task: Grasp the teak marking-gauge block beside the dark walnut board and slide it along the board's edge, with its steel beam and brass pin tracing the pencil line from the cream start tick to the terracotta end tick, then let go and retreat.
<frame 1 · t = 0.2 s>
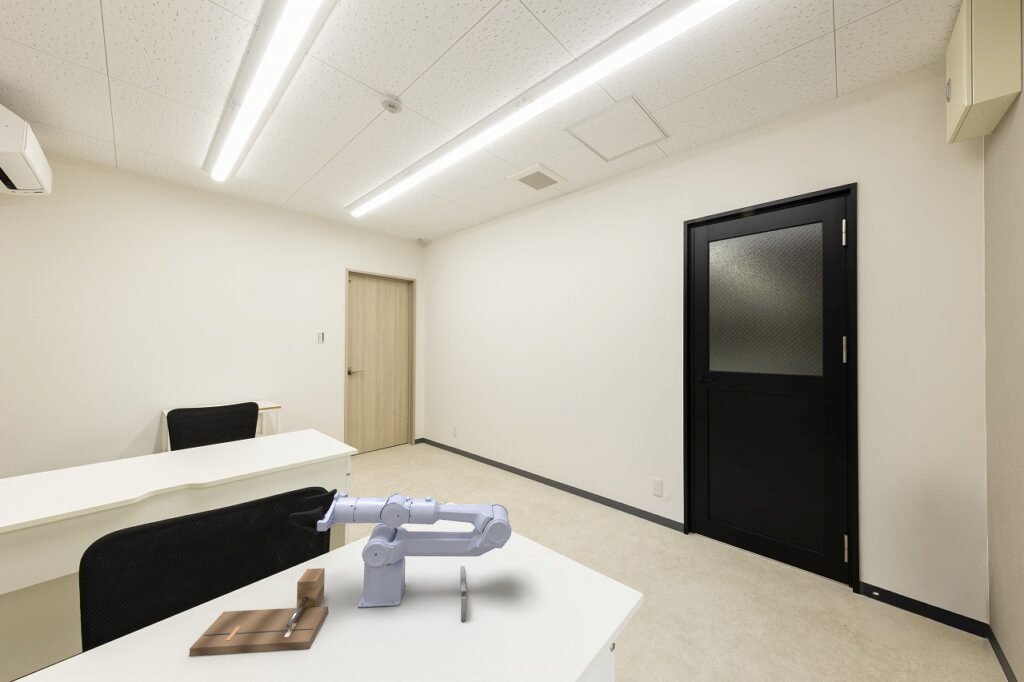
hand: (297, 510, 89), 21 cm above the table, tool horizontal, fingers open, 7 cm apart
walnut board: (264, 632, 78), on the table
caliper: (462, 593, 93), on the table
marking gauge: (310, 605, 87), on the table
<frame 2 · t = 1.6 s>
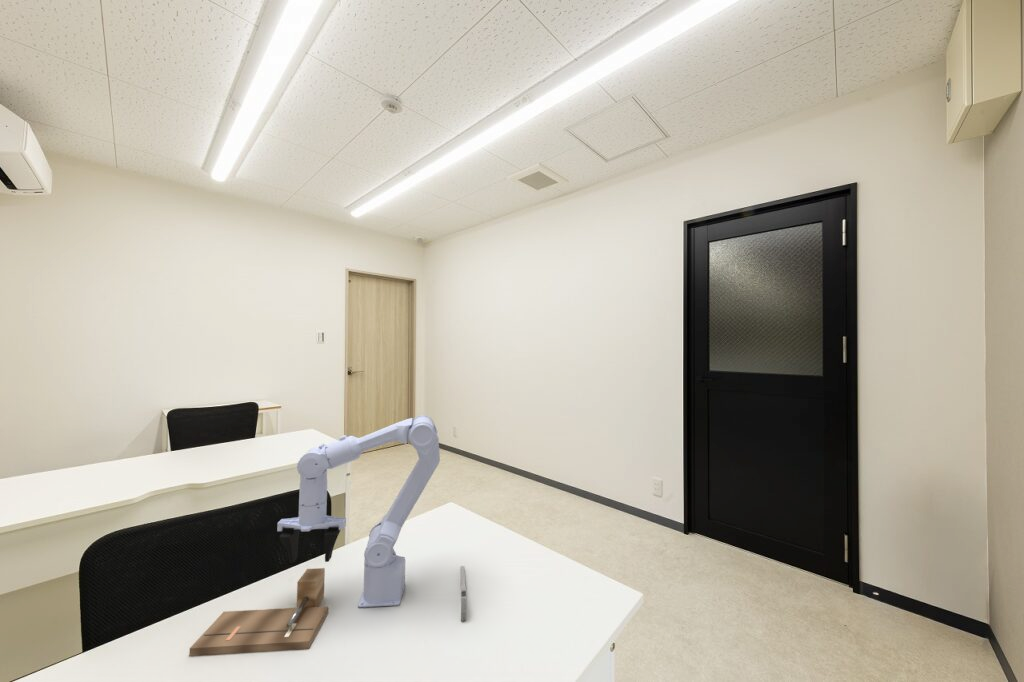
hand: (311, 560, 87), 10 cm above the table, tool pointing down, fingers open, 7 cm apart
nothing on the table moved.
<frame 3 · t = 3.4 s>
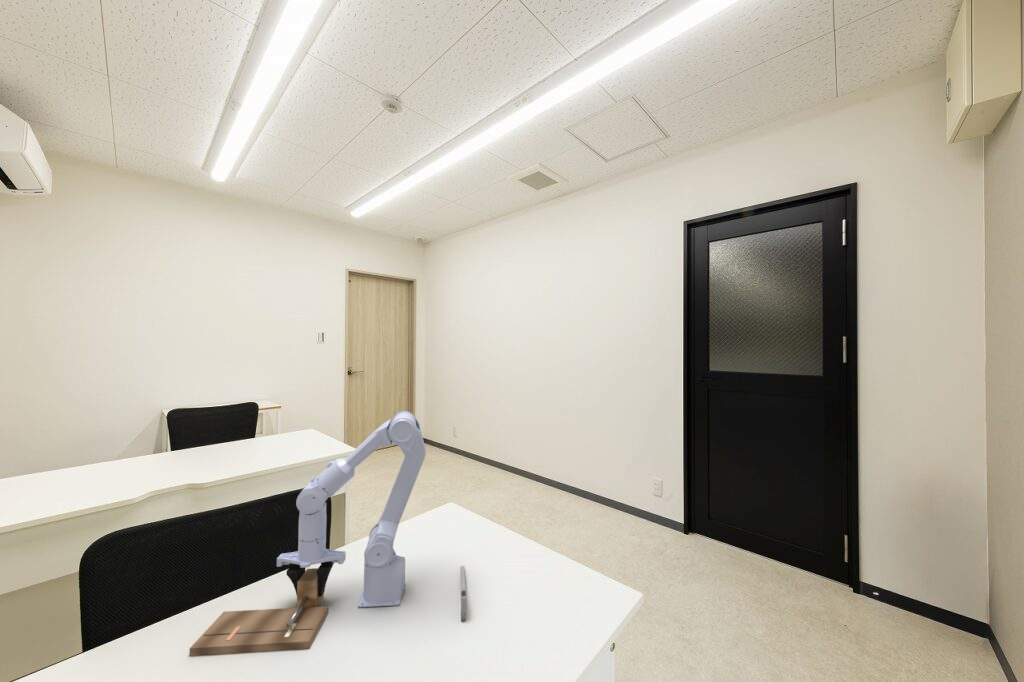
hand: (310, 594, 87), 2 cm above the table, tool pointing down, fingers closed on marking gauge, 4 cm apart
marking gauge: (310, 605, 87), on the table, touching gripper
everything else where it was.
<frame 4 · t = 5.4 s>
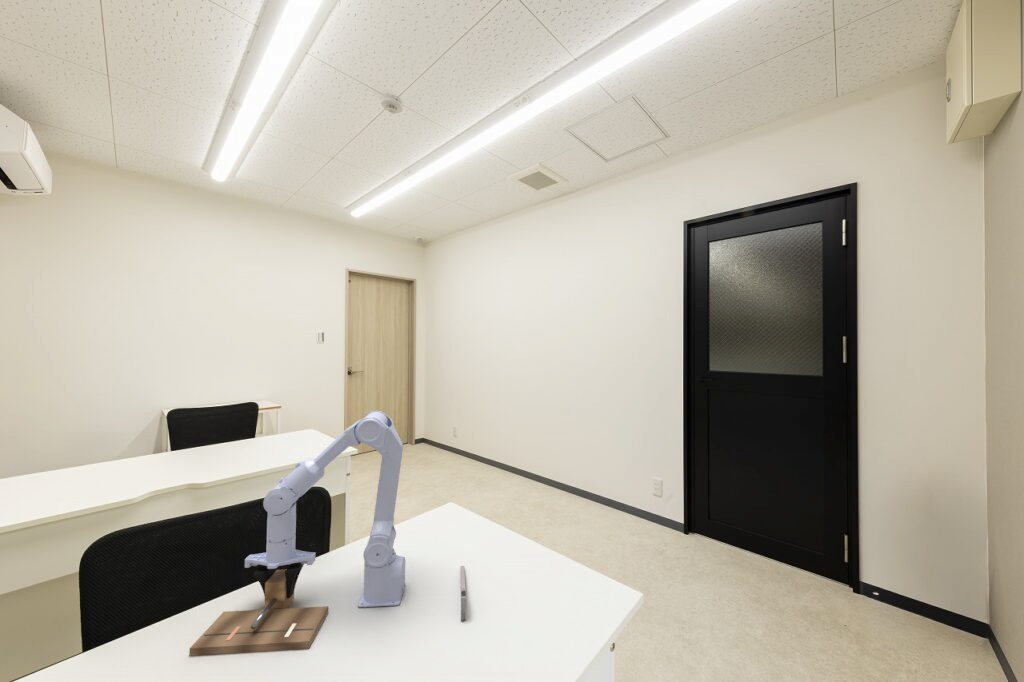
hand: (279, 595, 86), 2 cm above the table, tool pointing down, fingers closed on marking gauge, 4 cm apart
marking gauge: (279, 606, 86), on the table, touching gripper
everything else where it was.
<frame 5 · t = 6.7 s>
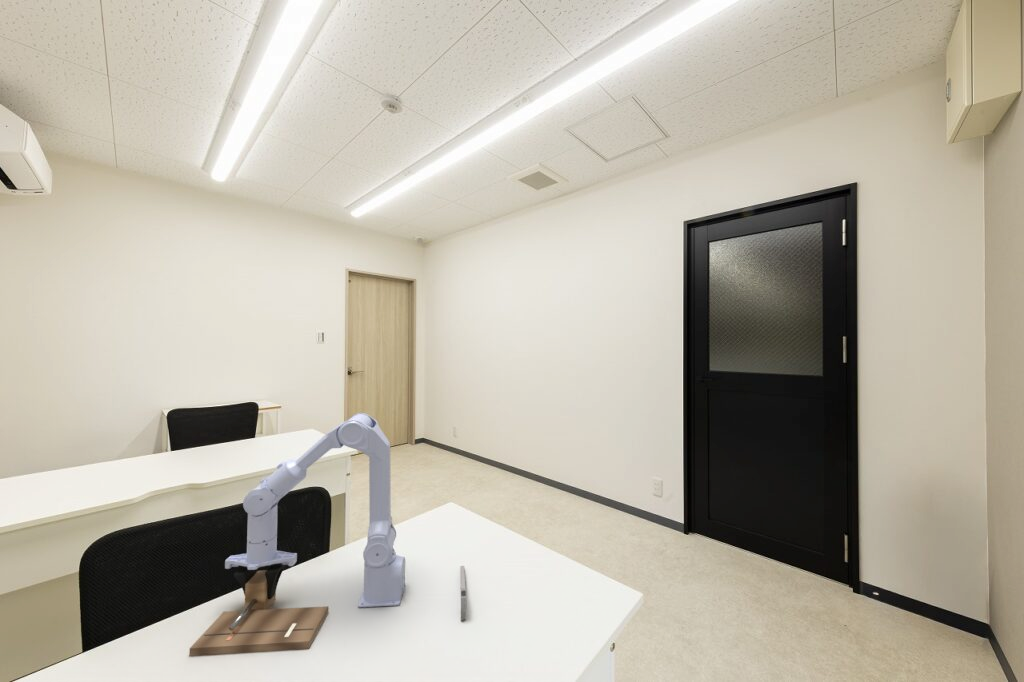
hand: (260, 596, 86), 2 cm above the table, tool pointing down, fingers closed on marking gauge, 4 cm apart
marking gauge: (260, 607, 86), on the table, touching gripper
everything else where it was.
when the fingers open (2 cm above the table, at t = 7.6 s): marking gauge stays where it is, on the table.
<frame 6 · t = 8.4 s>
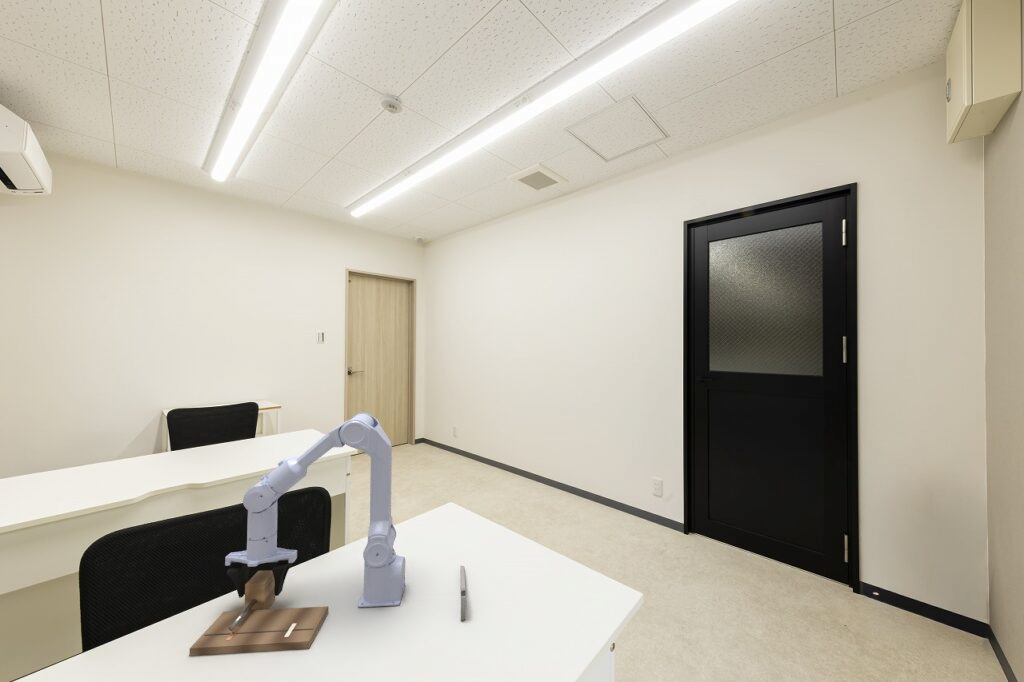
hand: (260, 593, 86), 3 cm above the table, tool pointing down, fingers open, 7 cm apart
marking gauge: (260, 607, 86), on the table
everything else where it was.
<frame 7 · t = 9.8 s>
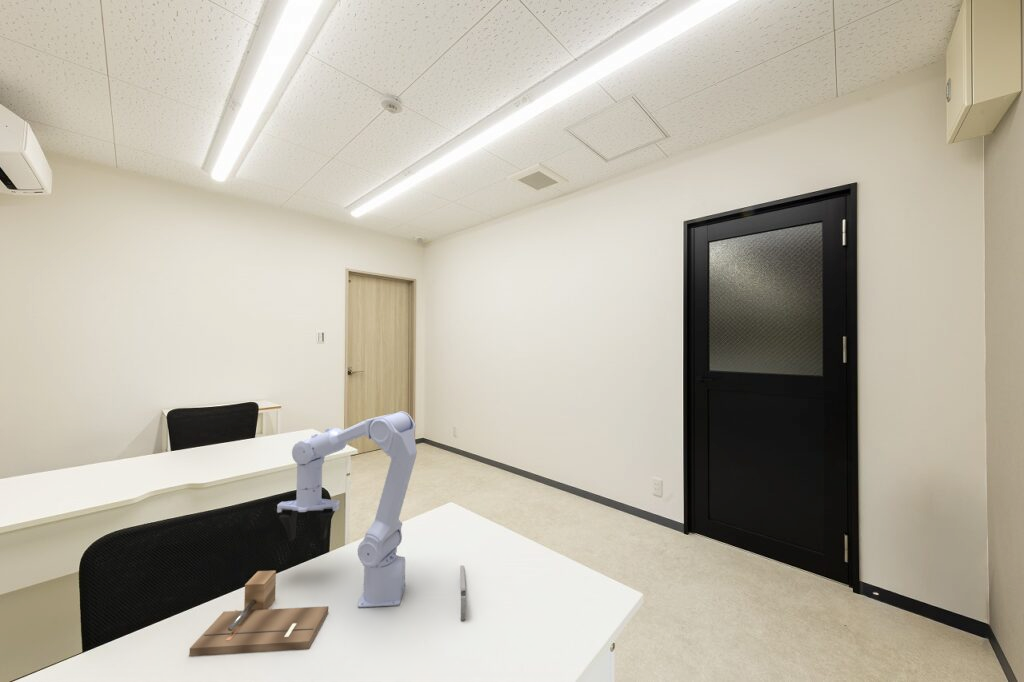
hand: (308, 538, 97), 10 cm above the table, tool pointing down, fingers open, 7 cm apart
nothing on the table moved.
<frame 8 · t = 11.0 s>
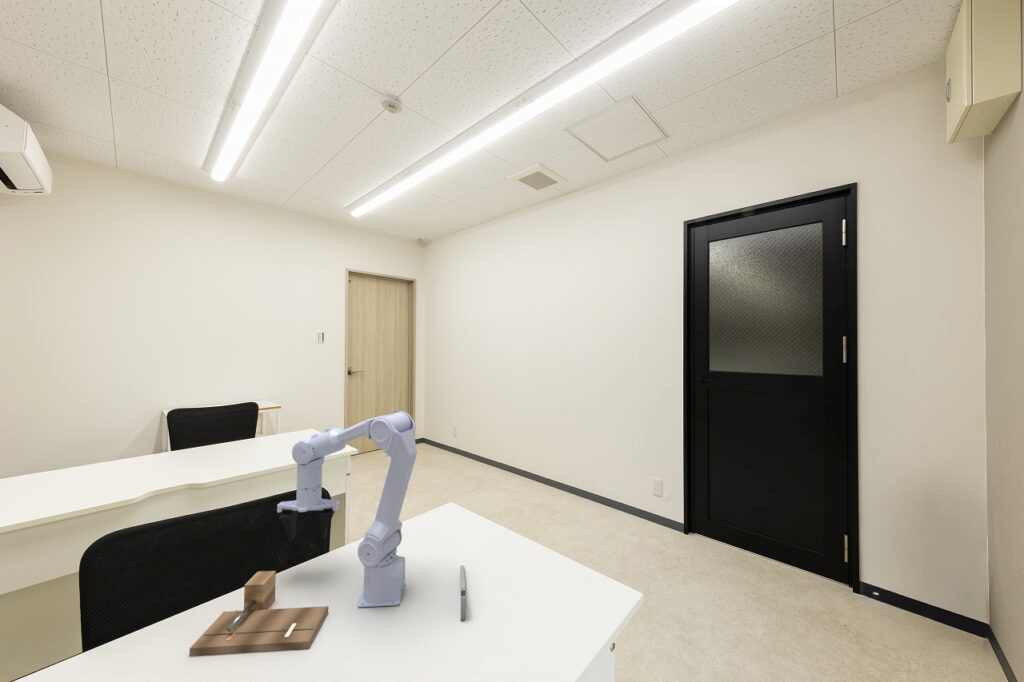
hand: (308, 538, 97), 10 cm above the table, tool pointing down, fingers open, 7 cm apart
nothing on the table moved.
at the end: marking gauge 0.6 cm from the target spot, on the table; marking gauge tilted 0°; the gripper is holding nothing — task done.
